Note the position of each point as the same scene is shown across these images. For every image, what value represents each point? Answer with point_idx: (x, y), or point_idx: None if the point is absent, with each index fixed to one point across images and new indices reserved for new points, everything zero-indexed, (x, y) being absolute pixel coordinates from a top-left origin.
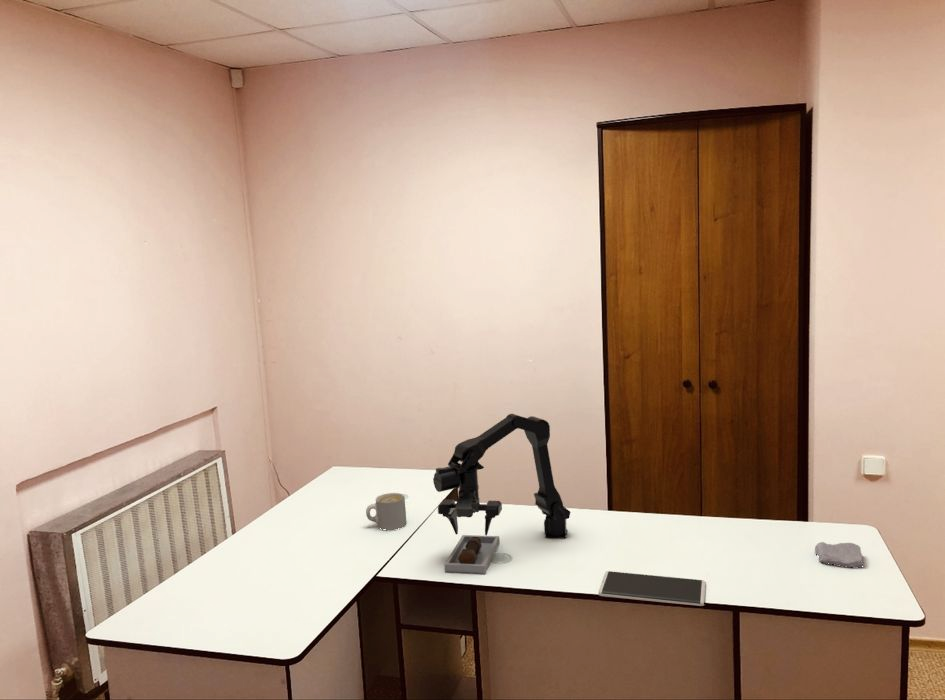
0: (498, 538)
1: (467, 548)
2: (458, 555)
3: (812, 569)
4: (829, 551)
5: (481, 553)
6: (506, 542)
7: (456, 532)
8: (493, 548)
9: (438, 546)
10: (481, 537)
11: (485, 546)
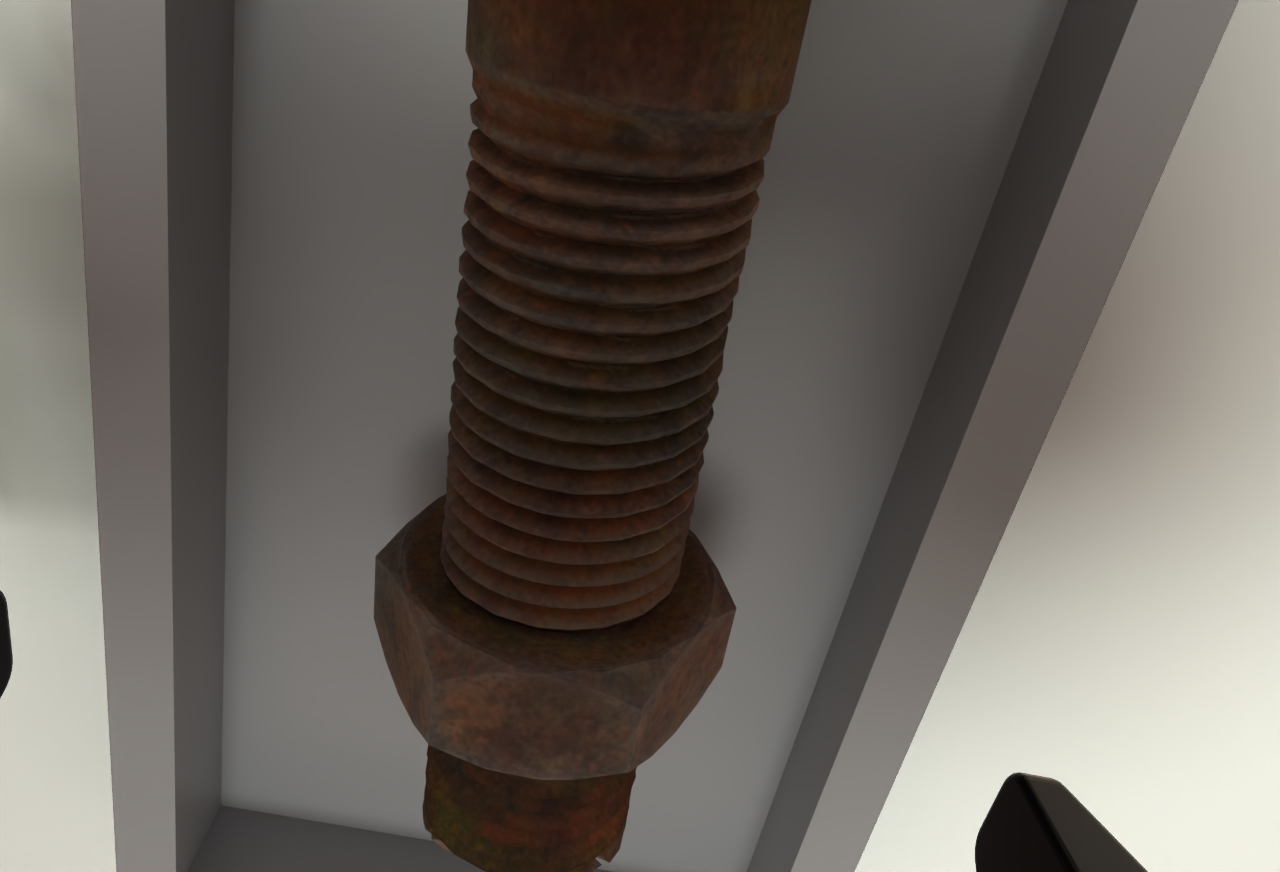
0: (122, 864)
1: (671, 286)
2: (880, 443)
3: None
4: None
5: (416, 478)
6: (83, 838)
7: (1052, 820)
8: (101, 479)
9: (1186, 843)
10: None
11: (381, 728)
